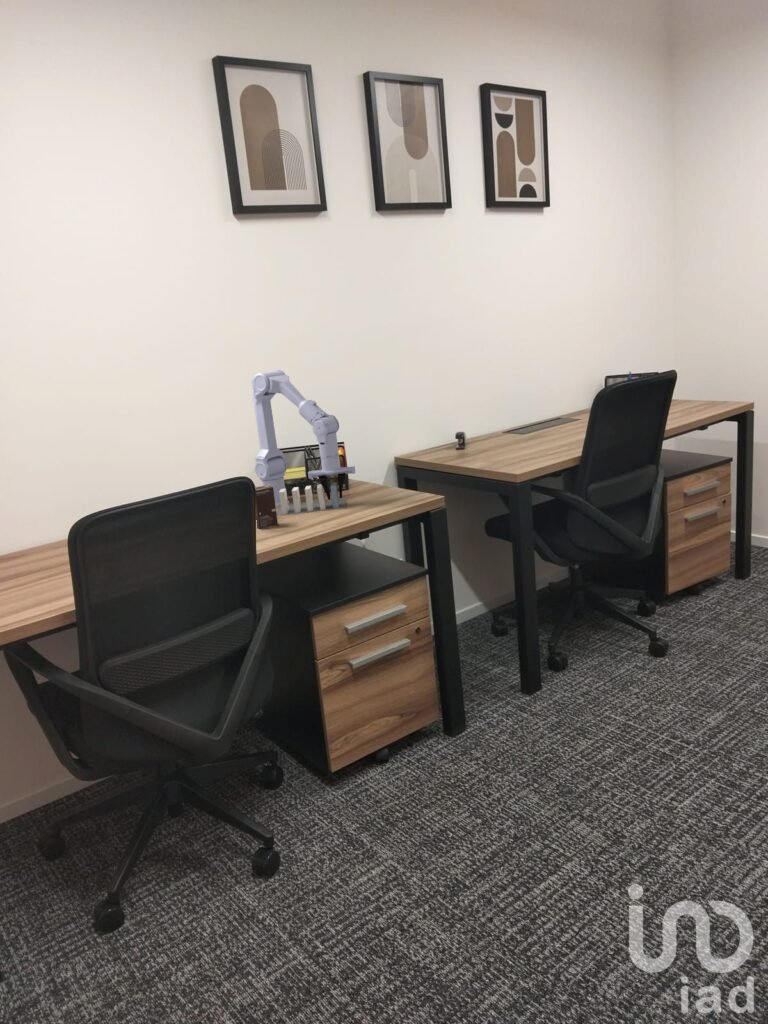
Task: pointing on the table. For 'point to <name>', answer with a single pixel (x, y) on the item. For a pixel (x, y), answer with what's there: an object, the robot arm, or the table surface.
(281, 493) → the tile
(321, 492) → the tile
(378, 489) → the table surface
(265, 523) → the box
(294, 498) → the tile
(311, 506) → the tile
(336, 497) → the end tile
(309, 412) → the robot arm
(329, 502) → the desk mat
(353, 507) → the table surface
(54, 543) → the table surface
